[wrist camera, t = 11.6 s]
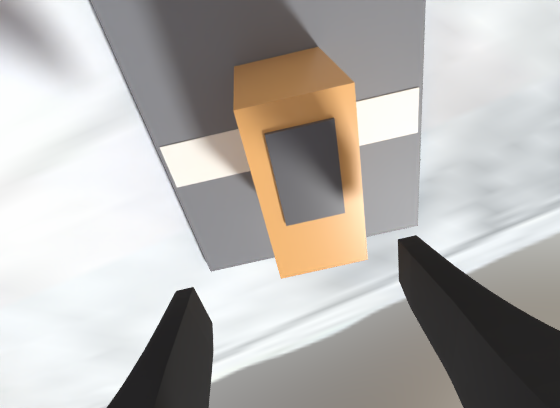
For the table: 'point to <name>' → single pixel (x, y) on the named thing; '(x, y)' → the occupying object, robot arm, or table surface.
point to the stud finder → (303, 158)
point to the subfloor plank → (220, 95)
